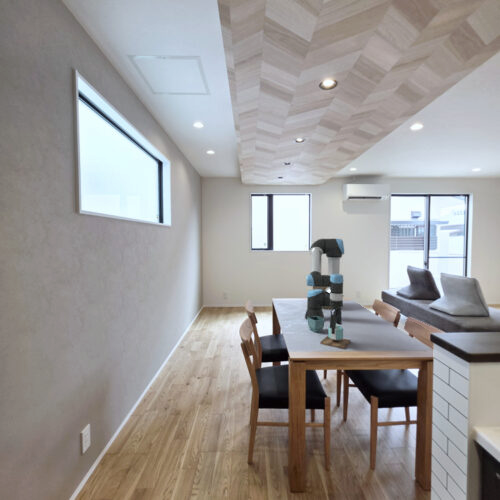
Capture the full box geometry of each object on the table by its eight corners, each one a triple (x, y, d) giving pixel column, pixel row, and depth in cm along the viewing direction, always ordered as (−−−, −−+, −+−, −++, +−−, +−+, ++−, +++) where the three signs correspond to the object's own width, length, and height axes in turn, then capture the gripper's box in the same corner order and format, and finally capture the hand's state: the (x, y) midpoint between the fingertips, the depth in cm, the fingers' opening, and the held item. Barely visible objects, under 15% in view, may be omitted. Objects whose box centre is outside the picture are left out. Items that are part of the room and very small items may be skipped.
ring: (326, 337, 163) (327, 327, 163) (331, 334, 170) (331, 324, 170) (340, 340, 159) (340, 330, 159) (344, 336, 165) (344, 327, 165)
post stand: (320, 343, 163) (320, 328, 162) (328, 337, 174) (328, 323, 174) (343, 349, 155) (344, 333, 154) (350, 341, 166) (350, 327, 166)
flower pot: (315, 333, 180) (315, 320, 180) (306, 330, 188) (306, 317, 188) (325, 332, 184) (325, 319, 184) (316, 328, 192) (316, 315, 192)
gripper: (337, 303, 153) (336, 343, 154) (347, 297, 170) (346, 333, 171) (324, 301, 157) (323, 340, 158) (335, 296, 174) (334, 331, 175)
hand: (335, 336), depth 164 cm, fingers closed on ring, 8 cm apart
